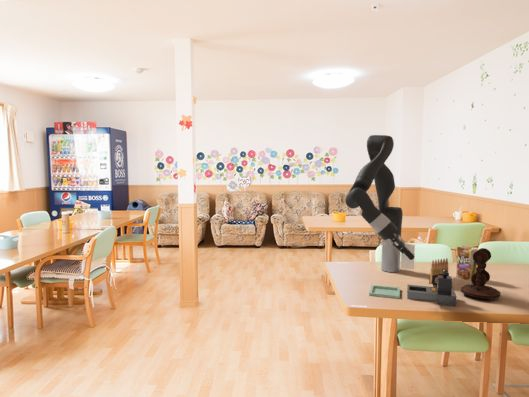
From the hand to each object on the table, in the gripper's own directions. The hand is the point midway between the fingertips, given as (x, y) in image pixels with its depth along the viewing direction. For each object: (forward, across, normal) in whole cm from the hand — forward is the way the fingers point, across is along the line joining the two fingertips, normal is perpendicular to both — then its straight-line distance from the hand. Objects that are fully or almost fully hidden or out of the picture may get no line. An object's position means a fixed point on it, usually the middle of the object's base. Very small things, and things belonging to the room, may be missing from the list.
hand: (412, 257), depth 165 cm
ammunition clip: (+21, +24, +4) cm, 32 cm away
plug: (+2, 0, +5) cm, 5 cm away
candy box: (+30, +38, -5) cm, 49 cm away
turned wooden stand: (+32, +12, -7) cm, 35 cm away
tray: (+5, 0, +20) cm, 20 cm away
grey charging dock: (+17, 0, +7) cm, 19 cm away
